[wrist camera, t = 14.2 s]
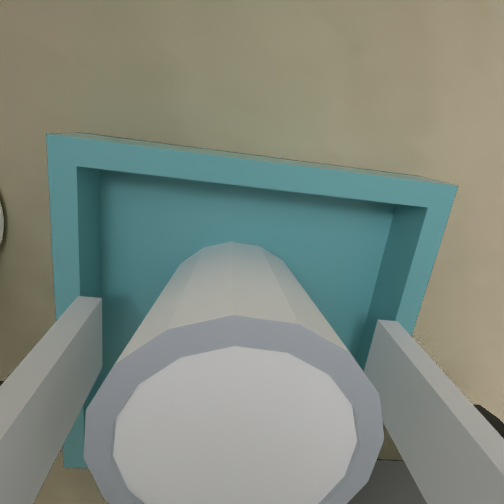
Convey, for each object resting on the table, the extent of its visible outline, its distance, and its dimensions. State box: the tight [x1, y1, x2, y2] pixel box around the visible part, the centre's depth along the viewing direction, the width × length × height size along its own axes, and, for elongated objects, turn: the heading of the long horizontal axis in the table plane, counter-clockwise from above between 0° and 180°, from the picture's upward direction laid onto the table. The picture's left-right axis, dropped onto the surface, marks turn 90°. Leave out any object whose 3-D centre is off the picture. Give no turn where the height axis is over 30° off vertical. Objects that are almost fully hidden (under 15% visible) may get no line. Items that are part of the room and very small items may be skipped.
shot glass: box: [83, 241, 384, 504], centre depth 11 cm, size 7×7×7 cm
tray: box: [46, 133, 458, 469], centre depth 14 cm, size 13×13×2 cm
